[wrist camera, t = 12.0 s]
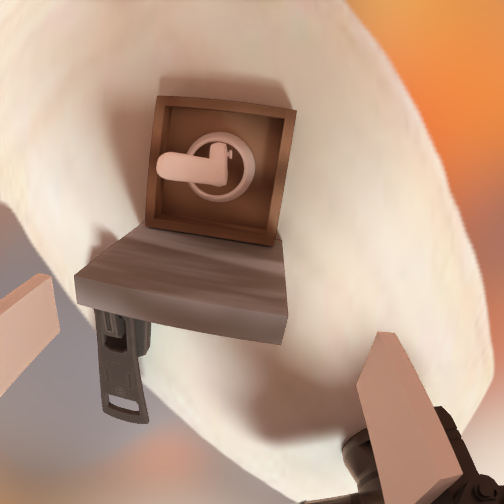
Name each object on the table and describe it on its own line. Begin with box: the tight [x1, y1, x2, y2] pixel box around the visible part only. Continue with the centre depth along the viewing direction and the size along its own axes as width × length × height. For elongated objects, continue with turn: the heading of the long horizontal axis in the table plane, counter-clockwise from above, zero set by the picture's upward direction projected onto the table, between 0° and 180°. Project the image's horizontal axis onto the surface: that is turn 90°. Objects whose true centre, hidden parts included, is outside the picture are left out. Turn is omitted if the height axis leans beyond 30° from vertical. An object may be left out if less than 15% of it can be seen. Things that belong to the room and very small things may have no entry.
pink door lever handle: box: [156, 132, 255, 202], centre depth 30 cm, size 8×12×7 cm
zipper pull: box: [94, 309, 151, 424], centre depth 39 cm, size 9×7×25 cm
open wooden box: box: [74, 96, 297, 345], centre depth 26 cm, size 17×16×16 cm
